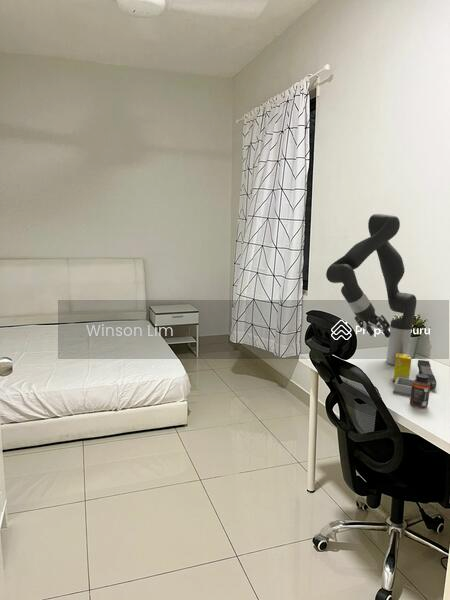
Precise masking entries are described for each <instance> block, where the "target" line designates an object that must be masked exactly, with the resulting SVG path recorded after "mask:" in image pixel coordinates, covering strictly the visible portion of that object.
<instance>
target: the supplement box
mask: <svg viewBox="0 0 450 600" xmlns="http://www.w3.org/2000/svg"><path fill="white" fill-rule="evenodd" d="M411 364H412V355H411V354H408V355H407V354H400V353H396V359H395V365H394V370H393V380H392V381H393V383H395V381H396V379H397V377H401V378H406V379H410V372H411V366H412V365H411Z"/></svg>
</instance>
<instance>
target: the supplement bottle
mask: <svg viewBox="0 0 450 600" xmlns="http://www.w3.org/2000/svg"><path fill="white" fill-rule="evenodd" d="M412 380H413V382H412V389H411V396H409V404H410V405H411V407H414V408H417V409H427V408H428V405H429V399H430V391H431V390H430V383H429V382H428V376H427V375H424V374H419V373H417V374H416V375H415V379H412Z"/></svg>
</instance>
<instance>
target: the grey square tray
mask: <svg viewBox="0 0 450 600" xmlns="http://www.w3.org/2000/svg"><path fill="white" fill-rule="evenodd" d="M413 380H414V379H412V378H411V379H410V378H409V379H406V378H401V377H397V379H396V381H395V382H393V383H394V384H393V392H392V393H394V394H399V395H404V396H406V397H407V396H409V397H411V389H412V382H413Z"/></svg>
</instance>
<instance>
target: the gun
mask: <svg viewBox="0 0 450 600" xmlns="http://www.w3.org/2000/svg"><path fill="white" fill-rule="evenodd" d="M431 367H432V366H431V363H430V361H429V360H424V359H418V361H417V368H418V374H424V375H427V376H428V382H429V383H430V391H434V390H435V389H436V388H437V380H436V377H435V375H434V373H433V370H432V368H431Z"/></svg>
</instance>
